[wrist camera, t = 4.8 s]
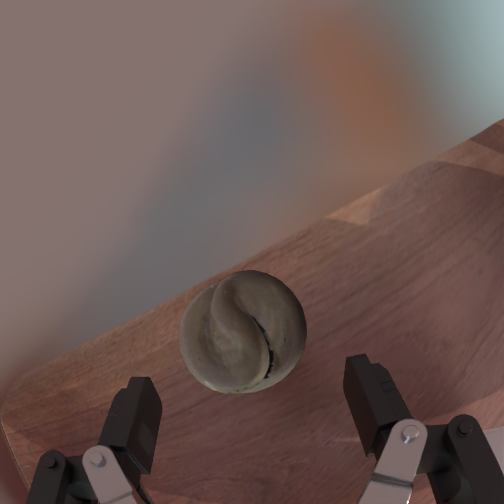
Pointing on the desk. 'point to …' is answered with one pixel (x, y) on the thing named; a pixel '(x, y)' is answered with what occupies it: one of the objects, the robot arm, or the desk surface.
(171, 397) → the desk surface
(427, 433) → the robot arm
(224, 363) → the light bulb
